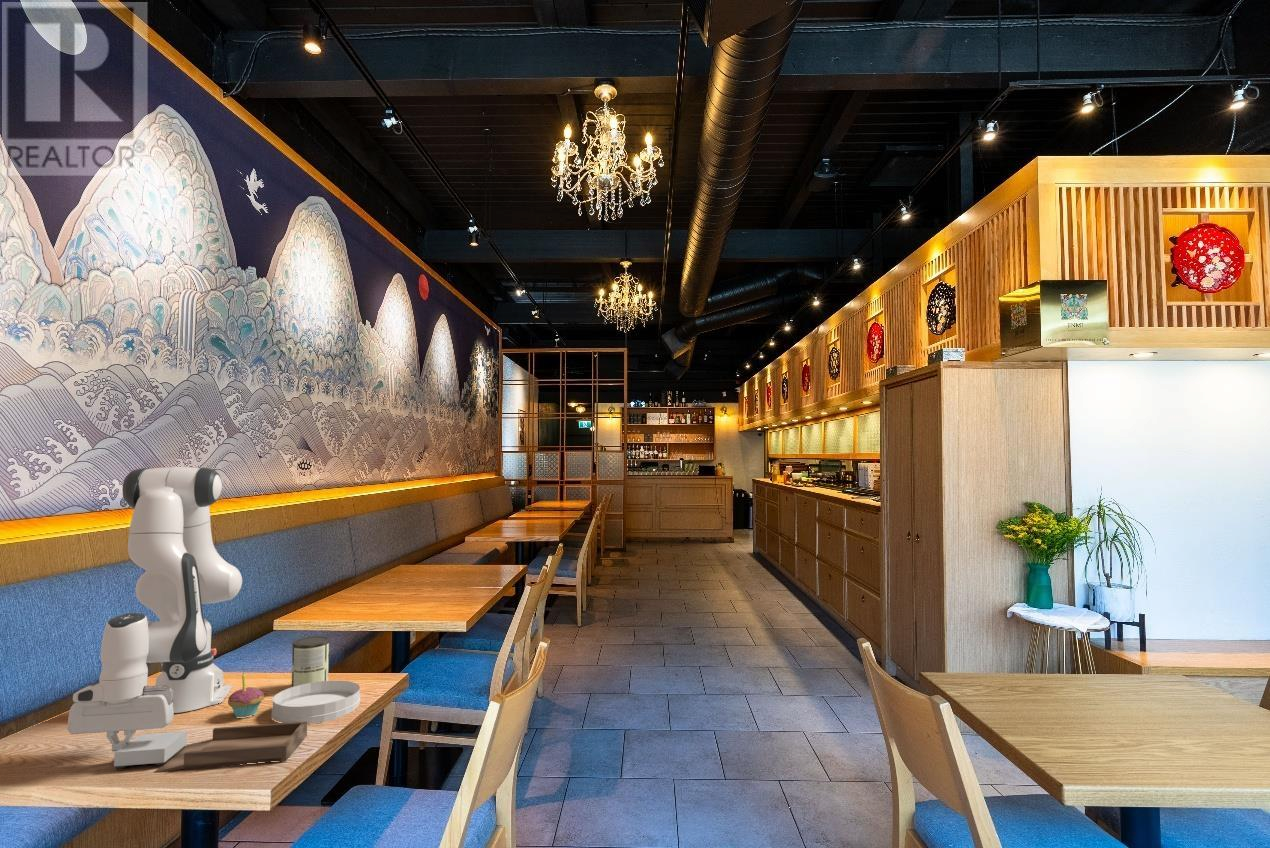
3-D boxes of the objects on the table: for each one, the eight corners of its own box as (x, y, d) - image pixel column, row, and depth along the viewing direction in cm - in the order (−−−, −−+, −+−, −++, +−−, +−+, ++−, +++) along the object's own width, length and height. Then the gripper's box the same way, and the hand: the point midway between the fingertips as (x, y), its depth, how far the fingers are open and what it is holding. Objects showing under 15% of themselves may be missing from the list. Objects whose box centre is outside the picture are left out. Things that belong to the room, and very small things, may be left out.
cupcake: (255, 720, 175) (257, 673, 176) (220, 722, 173) (222, 675, 174) (268, 708, 183) (269, 664, 184) (235, 710, 182) (236, 666, 183)
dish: (376, 699, 191) (376, 682, 191) (327, 729, 169) (328, 709, 169) (307, 696, 194) (307, 678, 195) (251, 724, 173) (252, 704, 173)
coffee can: (285, 688, 201) (286, 640, 202) (318, 679, 209) (320, 634, 210) (300, 695, 194) (301, 646, 195) (334, 686, 202) (335, 639, 203)
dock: (186, 747, 159) (187, 729, 159) (306, 738, 164) (307, 721, 164) (153, 775, 144) (154, 755, 145) (285, 764, 149) (286, 745, 149)
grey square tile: (139, 752, 155) (140, 734, 155) (186, 748, 157) (186, 731, 157) (113, 771, 145) (114, 752, 145) (163, 767, 147) (164, 748, 147)
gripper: (180, 680, 156) (178, 740, 155) (83, 686, 152) (79, 747, 151) (166, 689, 150) (163, 752, 149) (64, 695, 146) (61, 759, 145)
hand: (120, 750), depth 150 cm, fingers closed
